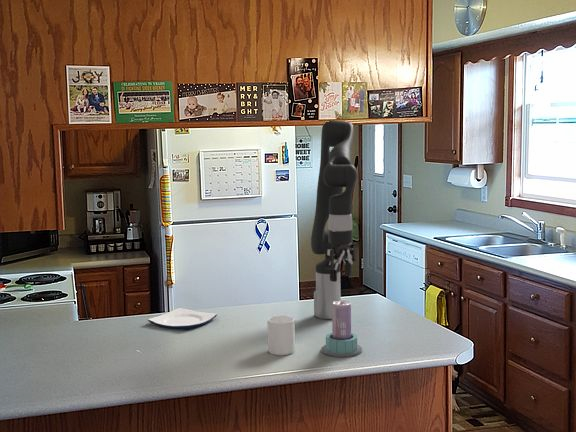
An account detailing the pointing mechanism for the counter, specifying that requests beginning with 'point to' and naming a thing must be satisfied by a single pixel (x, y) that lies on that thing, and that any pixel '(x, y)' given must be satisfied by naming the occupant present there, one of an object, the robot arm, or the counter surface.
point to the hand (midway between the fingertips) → (340, 278)
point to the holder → (341, 347)
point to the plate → (182, 319)
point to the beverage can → (341, 320)
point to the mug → (281, 335)
